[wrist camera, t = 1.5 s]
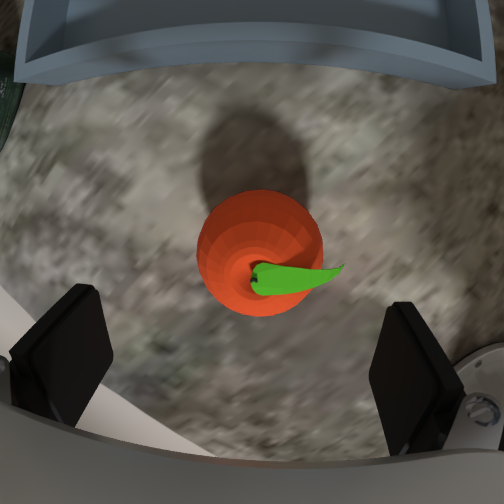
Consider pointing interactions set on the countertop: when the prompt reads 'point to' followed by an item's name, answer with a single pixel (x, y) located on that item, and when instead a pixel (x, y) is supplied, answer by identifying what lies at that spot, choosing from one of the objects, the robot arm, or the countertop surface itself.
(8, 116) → the coffee jar
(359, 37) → the bin
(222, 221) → the clementine
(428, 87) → the countertop surface
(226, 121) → the countertop surface
